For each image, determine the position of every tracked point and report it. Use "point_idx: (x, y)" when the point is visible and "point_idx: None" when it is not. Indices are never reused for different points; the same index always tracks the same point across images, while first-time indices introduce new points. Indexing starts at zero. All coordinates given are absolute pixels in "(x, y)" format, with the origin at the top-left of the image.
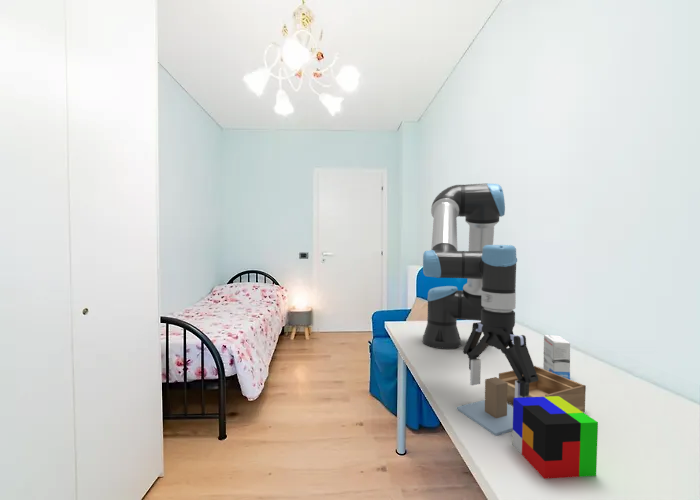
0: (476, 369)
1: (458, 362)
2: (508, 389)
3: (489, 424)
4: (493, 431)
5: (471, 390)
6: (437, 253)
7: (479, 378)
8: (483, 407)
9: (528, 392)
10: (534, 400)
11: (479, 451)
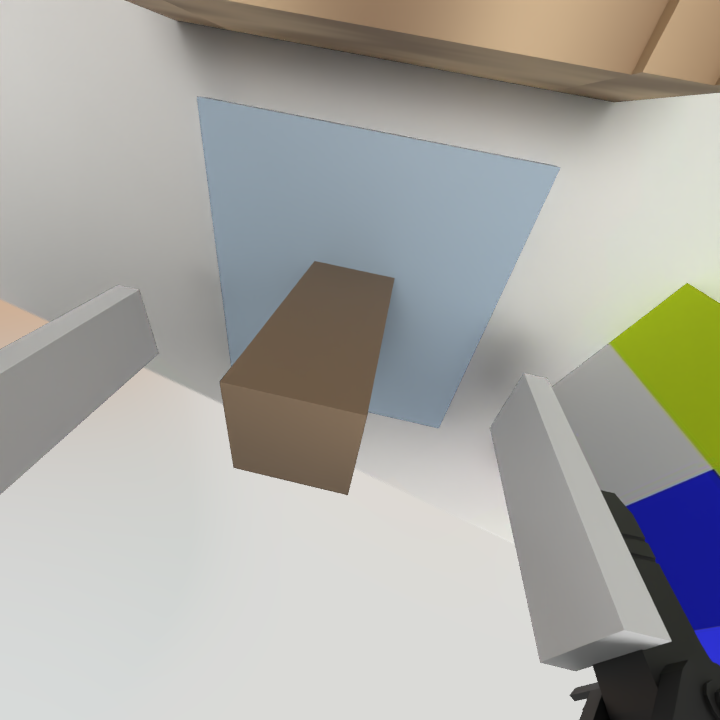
0: (45, 402)
1: None
2: (216, 8)
3: (390, 398)
4: (427, 424)
5: (57, 133)
6: None
7: (108, 319)
8: (279, 300)
9: (638, 538)
10: (716, 649)
11: (444, 493)
